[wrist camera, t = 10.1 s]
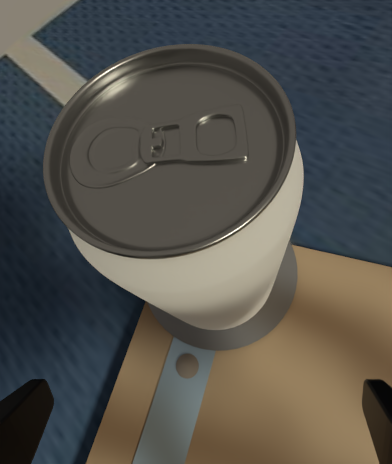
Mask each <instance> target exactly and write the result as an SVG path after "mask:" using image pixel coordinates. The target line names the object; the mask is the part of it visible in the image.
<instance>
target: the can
mask: <svg viewBox="0 0 392 464" xmlns="http://www.w3.org/2000/svg"><path fill="white" fill-rule="evenodd" d="M43 175H44V183H45V188H46V192H47V195H48V198H49V200H50V203H51V205H52V207H53V209H54V210H55V212H56V214H57V215H58V217H59V218H60V219H61V221H62V222H63V223H64V224H65V225H66V226H67V227H68V229H69V232H70V234H71V236H72V238H73V240H74V242H75V244H76V246H77V247H78V249H79V251H80V252H81V253H82V255H83V256H84V257H85V258H86V259H87V261H88V262H89V263H90V264H91V265H92V266H93V267H95V268H96V269H97V270H98V271H99V272H100V273H101V274H103V275H104V276H105V277H107V278H108V279H110V280H111V281H113V282H114V283H116V284H117V285H119V286H121V287H122V288H124V289H126V290H127V291H129V292H131V293H133V294H134V295H136V296H138V297H140V298H141V299H143V300H145V301H147V302H149V303H150V304H152V305H154V306H156V307H158V308H160V309H161V310H163V311H165V312H167V313H169V314H171V315H173V316H174V317H176V318H178V319H180V320H182V321H184V322H186V323H188V324H190V325H192V326H195V327H198V328H202V329H207V330H224V329H229V328H233V327H236V326H238V325H241V324H243V323H244V322H246V321H248V320H249V319H250V318H252V317H253V316H254V315H255V314H256V313H257V312H258V311H259V310H260V309H261V308H262V306H263V305H264V304H265V302H266V300H267V298H268V296H269V294H270V292H271V290H272V287H273V284H274V282H275V279H276V276H277V273H278V271H279V268H280V265H281V262H282V259H283V257H284V254H285V251H286V248H287V245H288V242H289V239H290V236H291V233H292V230H293V227H294V224H295V221H296V218H297V214H298V211H299V207H300V203H301V198H302V190H303V163H302V157H301V153H300V150H299V147H298V144H297V141H296V125H295V118H294V114H293V110H292V107H291V104H290V102H289V100H288V98H287V96H286V94H285V92H284V90H283V89H282V87H281V86H280V85H279V83H278V82H277V81H276V80H275V78H274V77H273V76H272V75H271V74H270V73H269V72H268V71H266V70H265V69H264V68H263V67H261V66H260V65H259V64H257V63H256V62H254V61H252V60H251V59H249V58H247V57H245V56H243V55H241V54H238V53H236V52H233V51H230V50H227V49H223V48H219V47H214V46H208V45H197V44H182V45H171V46H164V47H159V48H154V49H150V50H146V51H143V52H140V53H137V54H134V55H132V56H129V57H127V58H125V59H122V60H120V61H118V62H116V63H115V64H113V65H111V66H109V67H107V68H106V69H104V70H103V71H101V72H100V73H98V74H97V75H96V76H94V77H93V78H92V79H90V80H89V81H88V82H87V83H86V84H84V85H83V86H82V87H81V88H80V89H79V90H78V91H77V92H76V93H75V94H74V95H73V97H72V98H71V99H70V100H69V101H68V103H67V104H66V105H65V106H64V108H63V109H62V111H61V112H60V114H59V116H58V117H57V119H56V121H55V123H54V125H53V127H52V129H51V132H50V134H49V137H48V140H47V144H46V148H45V153H44V161H43Z"/></svg>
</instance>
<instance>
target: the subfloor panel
mask: <svg viewBox="0 0 392 464" xmlns="http://www.w3.org/2000/svg"><path fill="white" fill-rule="evenodd" d="M365 379H381V380H383V381H385V382H386V383H387V384H388V385H390V386H391V387H392V267H388V266H383V265H379V264H374V263H370V262H366V261H361V260H357V259H352V258H348V257H343V256H339V255H334V254H330V253H326V252H321V251H317V250H312V249H308V248H303V247H299V246H295V245H291V243H290V240H289V242H288V245H287V248H286V251H285V254H284V257H283V259H282V262H281V265H280V268H279V271H278V273H277V276H276V279H275V282H274V284H273V287H272V290H271V292H270V294H269V296H268V298H267V300H266V302H265V304H264V305H263V306H262V308H261V309H260V310H259V311H258V312H257V313H256V314H255V315H254V316H253V317H252V318H250V319H249V320H248V321H246V322H244V323H243V324H241V325H238V326H236V327H233V328H229V329H224V330H207V329H202V328H198V327H195V326H192V325H190V324H188V323H186V322H184V321H182V320H180V319H178V318H176V317H174V316H173V315H171V314H169V313H167V312H165V311H163V310H161V309H160V308H158V307H156V306H154V305H152V304H150V303H149V302H147V301H146V302H145V305H144V308H143V310H142V313H141V316H140V318H139V321H138V324H137V326H136V329H135V332H134V335H133V337H132V340H131V343H130V345H129V348H128V351H127V354H126V356H125V359H124V362H123V364H122V367H121V370H120V372H119V375H118V378H117V381H116V383H115V386H114V389H113V391H112V394H111V397H110V400H109V402H108V405H107V408H106V410H105V413H104V416H103V418H102V421H101V424H100V427H99V429H98V432H97V435H96V437H95V440H94V443H93V446H92V448H91V451H90V454H89V456H88V459H87V462H86V464H379V461H378V458H377V454H376V451H375V448H374V445H373V442H372V438H371V435H370V432H369V429H368V426H367V422H366V419H365V416H364V413H363V409H362V393H363V383H364V380H365Z"/></svg>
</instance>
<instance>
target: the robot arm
mask: <svg viewBox="0 0 392 464" xmlns="http://www.w3.org/2000/svg"><path fill="white" fill-rule="evenodd" d="M53 405H54V398H53V395H52V393H51V390H50V388H49V385H48V383H47V381H46V380H45V379H32V380H30V381H28V382H27V383H25V384H24V385H23V386H21V387H20V388H18V389H17V390H16V391H14V392H13V393H11V394H10V395H9V396H7V397H6V398H4V399H3V400H1V401H0V464H31V463H32V460H33V458H34V455H35V453H36V450H37V448H38V445H39V442H40V440H41V437H42V435H43V432H44V429H45V427H46V424H47V422H48V419H49V416H50V414H51V411H52V409H53ZM362 409H363V413H364V416H365V419H366V422H367V426H368V429H369V432H370V435H371V438H372V442H373V445H374V448H375V451H376V454H377V458H378V461H379V464H392V387H391V386H390V385H388V384H387V383H386V382H385V381H383V380H381V379H365V380H364V383H363V393H362Z"/></svg>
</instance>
